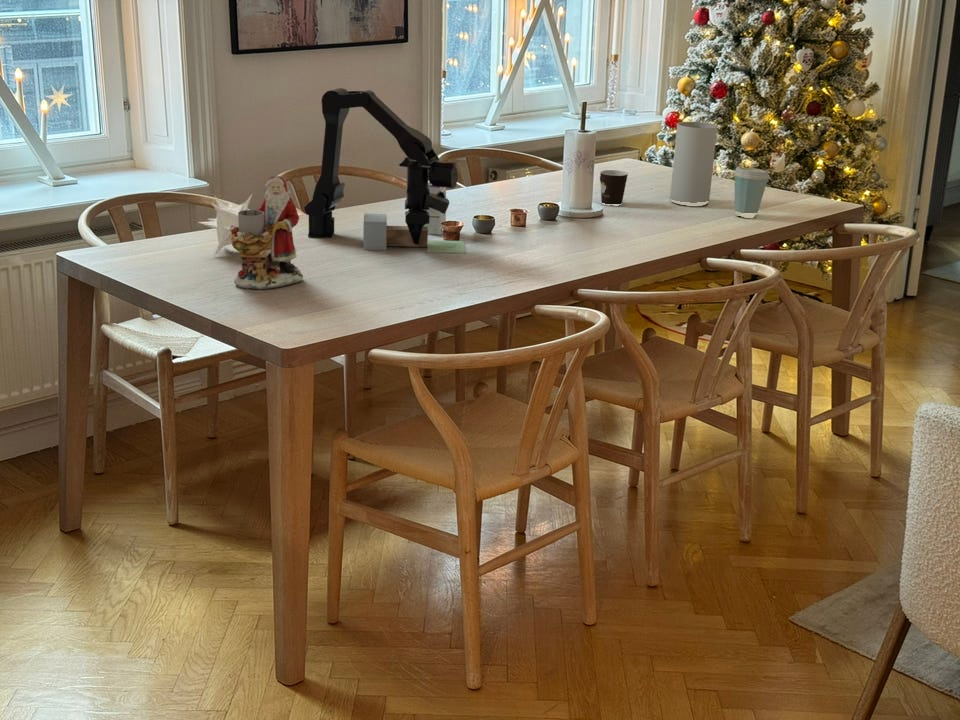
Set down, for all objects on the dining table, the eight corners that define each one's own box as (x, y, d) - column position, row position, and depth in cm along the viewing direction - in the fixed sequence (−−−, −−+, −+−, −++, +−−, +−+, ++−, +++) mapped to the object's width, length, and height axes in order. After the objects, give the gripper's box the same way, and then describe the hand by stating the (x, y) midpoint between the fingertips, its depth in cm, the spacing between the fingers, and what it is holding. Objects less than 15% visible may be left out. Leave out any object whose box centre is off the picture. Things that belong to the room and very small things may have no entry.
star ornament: (186, 250, 304) (184, 194, 299) (230, 242, 314) (228, 188, 310) (238, 263, 292) (236, 206, 287) (281, 254, 303) (280, 198, 298)
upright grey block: (363, 249, 310) (363, 221, 307) (364, 240, 318) (364, 213, 316) (386, 250, 311) (386, 222, 308) (386, 241, 319) (386, 213, 316)
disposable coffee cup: (732, 210, 371) (737, 163, 366) (766, 215, 368) (772, 167, 362) (726, 217, 362) (731, 169, 356) (761, 222, 358) (767, 173, 353)
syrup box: (440, 235, 328) (442, 183, 322) (420, 233, 329) (421, 182, 324) (445, 230, 333) (447, 179, 328) (425, 228, 334) (426, 178, 329)
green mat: (428, 252, 310) (428, 251, 310) (426, 240, 321) (426, 240, 321) (466, 253, 311) (466, 252, 311) (463, 241, 322) (463, 240, 322)
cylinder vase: (665, 198, 384) (672, 121, 376) (702, 198, 386) (710, 122, 377) (675, 207, 373) (683, 127, 364) (713, 207, 374) (722, 128, 366)
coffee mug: (626, 207, 369) (629, 176, 366) (599, 206, 369) (601, 175, 366) (622, 199, 380) (625, 168, 376) (596, 198, 380) (598, 167, 376)
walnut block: (367, 245, 312) (367, 228, 311) (367, 241, 316) (367, 225, 314) (427, 246, 314) (427, 230, 312) (427, 242, 317) (427, 226, 316)
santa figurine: (238, 293, 271) (235, 186, 262) (226, 276, 283) (222, 174, 274) (309, 287, 277) (308, 183, 268) (294, 271, 289) (292, 171, 280)
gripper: (449, 192, 301) (447, 251, 307) (446, 177, 319) (444, 233, 324) (406, 191, 301) (404, 250, 306) (405, 176, 318) (404, 232, 323)
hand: (416, 241), depth 315 cm, fingers closed on walnut block, 4 cm apart
